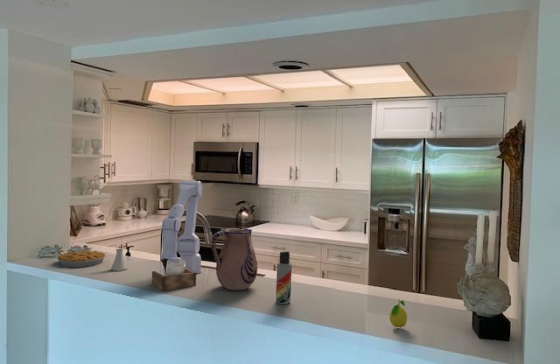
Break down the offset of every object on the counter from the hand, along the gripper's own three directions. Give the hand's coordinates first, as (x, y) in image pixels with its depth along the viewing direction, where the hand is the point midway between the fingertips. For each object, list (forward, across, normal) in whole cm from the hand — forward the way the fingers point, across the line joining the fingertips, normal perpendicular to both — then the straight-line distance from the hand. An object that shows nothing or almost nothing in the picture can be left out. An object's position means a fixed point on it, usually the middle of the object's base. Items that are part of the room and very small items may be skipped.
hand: (168, 276), depth 188 cm
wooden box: (+3, +4, +1) cm, 5 cm away
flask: (+4, -34, -10) cm, 36 cm away
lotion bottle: (+2, +48, +26) cm, 54 cm away
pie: (+4, -57, -22) cm, 61 cm away
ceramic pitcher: (+2, +22, +20) cm, 29 cm away
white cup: (+2, +2, +1) cm, 4 cm away
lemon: (+2, +89, +42) cm, 99 cm away
